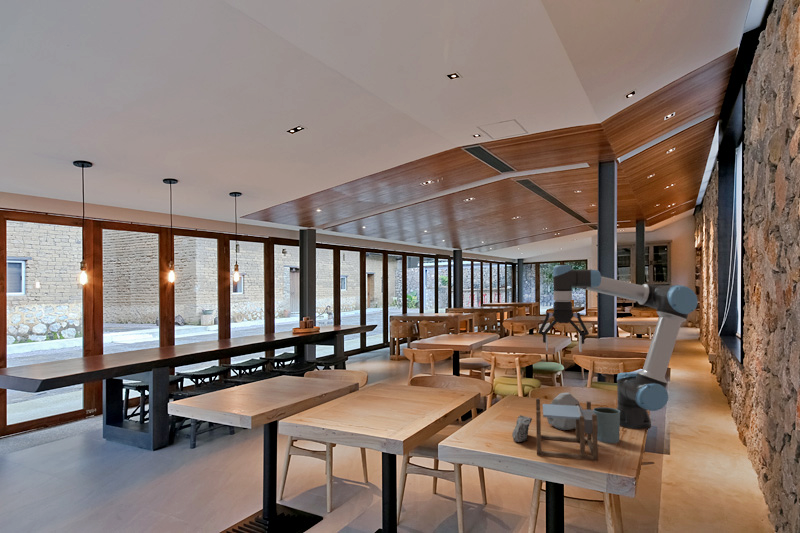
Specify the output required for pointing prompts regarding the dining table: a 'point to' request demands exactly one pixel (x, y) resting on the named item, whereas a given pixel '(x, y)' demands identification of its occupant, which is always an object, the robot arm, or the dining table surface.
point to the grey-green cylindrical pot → (608, 424)
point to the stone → (562, 422)
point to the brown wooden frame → (579, 437)
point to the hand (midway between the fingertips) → (563, 351)
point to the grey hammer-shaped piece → (570, 414)
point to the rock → (521, 429)
